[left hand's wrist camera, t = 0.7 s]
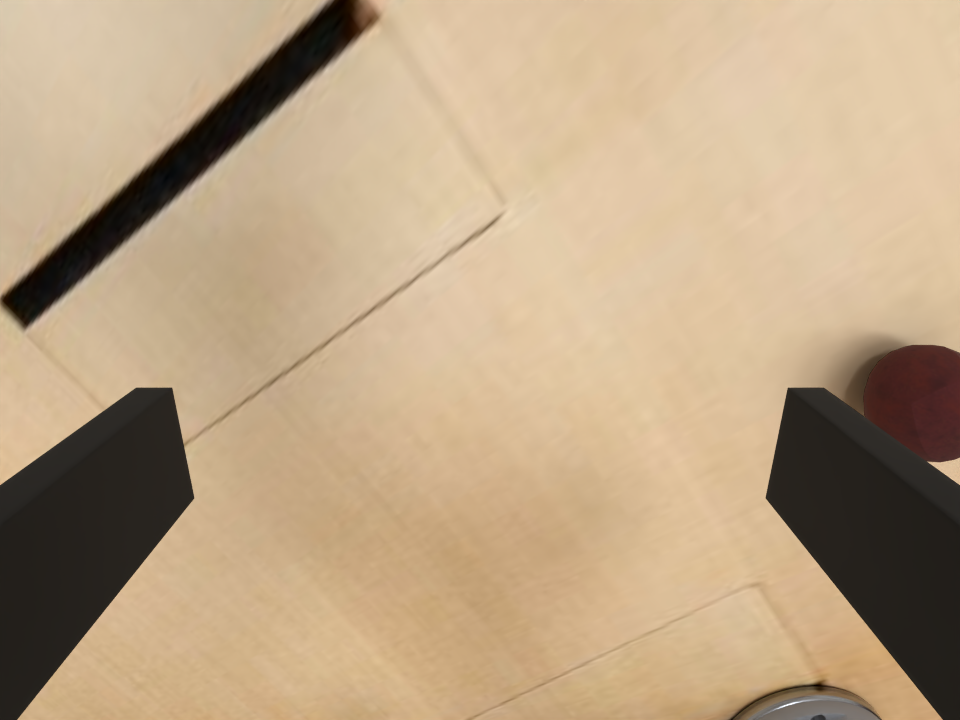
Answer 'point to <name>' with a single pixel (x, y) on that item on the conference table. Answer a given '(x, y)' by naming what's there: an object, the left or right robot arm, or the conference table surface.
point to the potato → (918, 400)
